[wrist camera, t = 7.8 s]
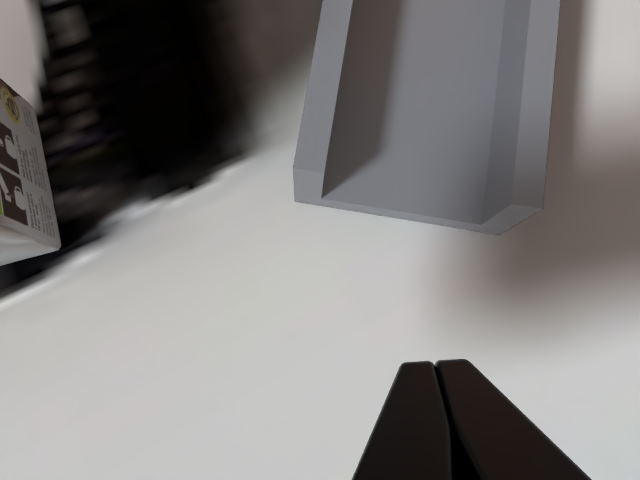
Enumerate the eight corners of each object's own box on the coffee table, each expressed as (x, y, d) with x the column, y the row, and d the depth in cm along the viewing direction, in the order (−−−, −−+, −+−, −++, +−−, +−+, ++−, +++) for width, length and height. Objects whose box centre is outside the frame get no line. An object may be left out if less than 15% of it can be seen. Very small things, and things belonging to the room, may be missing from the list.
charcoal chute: (499, 234, 22) (542, 208, 18) (294, 201, 22) (293, 168, 18) (532, -106, 25) (576, -192, 21) (353, -135, 25) (362, -226, 21)
